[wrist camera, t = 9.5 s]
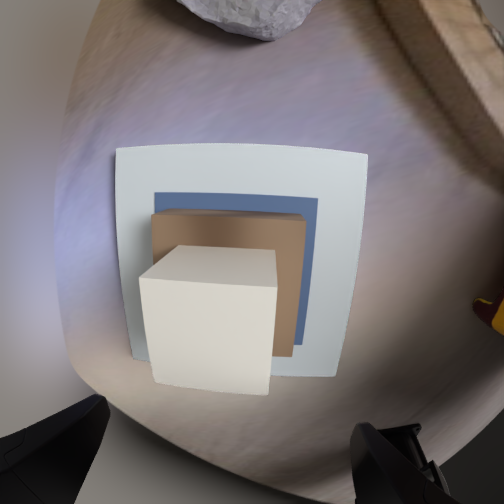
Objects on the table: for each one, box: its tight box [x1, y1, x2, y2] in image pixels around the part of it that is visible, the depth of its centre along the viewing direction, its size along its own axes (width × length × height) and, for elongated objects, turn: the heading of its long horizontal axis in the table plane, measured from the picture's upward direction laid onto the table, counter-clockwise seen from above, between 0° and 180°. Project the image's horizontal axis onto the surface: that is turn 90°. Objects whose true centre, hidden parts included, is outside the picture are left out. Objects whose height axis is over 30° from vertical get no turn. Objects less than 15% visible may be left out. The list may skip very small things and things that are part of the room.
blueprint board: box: [115, 143, 368, 377], centre depth 17 cm, size 16×16×4 cm
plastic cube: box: [139, 245, 278, 395], centre depth 13 cm, size 5×5×5 cm
